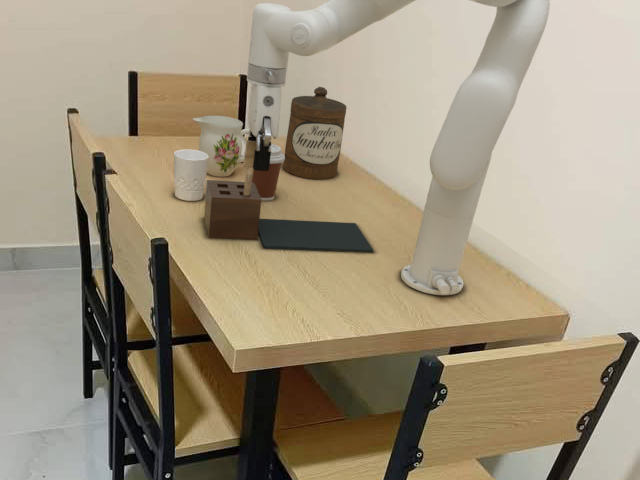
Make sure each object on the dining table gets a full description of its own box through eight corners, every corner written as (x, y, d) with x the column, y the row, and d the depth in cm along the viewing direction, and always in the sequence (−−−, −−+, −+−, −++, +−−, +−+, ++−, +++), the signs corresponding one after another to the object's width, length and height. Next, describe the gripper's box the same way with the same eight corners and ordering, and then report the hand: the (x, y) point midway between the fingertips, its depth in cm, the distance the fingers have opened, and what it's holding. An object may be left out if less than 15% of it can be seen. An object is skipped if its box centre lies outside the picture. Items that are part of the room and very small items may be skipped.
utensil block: (257, 239, 158) (261, 199, 153) (208, 237, 156) (211, 197, 151) (250, 221, 166) (254, 182, 162) (203, 219, 164) (206, 179, 159)
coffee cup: (287, 200, 181) (293, 151, 174) (256, 204, 176) (261, 154, 169) (266, 187, 187) (271, 140, 180) (235, 191, 182) (240, 142, 175)
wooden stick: (257, 236, 160) (271, 144, 150) (234, 234, 159) (247, 141, 148) (256, 233, 161) (270, 142, 151) (233, 231, 160) (246, 139, 150)
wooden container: (290, 178, 195) (301, 92, 183) (277, 160, 207) (287, 78, 195) (343, 180, 199) (357, 96, 187) (327, 162, 211) (340, 82, 199)
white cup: (200, 204, 171) (202, 162, 166) (167, 198, 172) (169, 156, 167) (209, 194, 178) (212, 153, 173) (178, 188, 179) (180, 147, 173)
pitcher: (261, 177, 193) (267, 124, 186) (198, 181, 185) (202, 125, 177) (242, 163, 201) (247, 112, 194) (181, 166, 192) (184, 113, 185)
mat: (373, 252, 159) (373, 250, 159) (264, 248, 154) (264, 245, 154) (354, 225, 172) (355, 223, 172) (253, 220, 167) (253, 218, 166)
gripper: (294, 86, 136) (282, 178, 145) (277, 66, 151) (268, 151, 160) (254, 83, 135) (245, 176, 144) (241, 63, 149) (234, 149, 158)
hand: (257, 162), depth 152 cm, fingers open, 8 cm apart
